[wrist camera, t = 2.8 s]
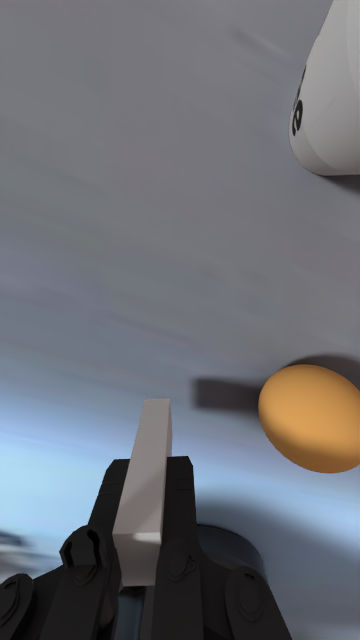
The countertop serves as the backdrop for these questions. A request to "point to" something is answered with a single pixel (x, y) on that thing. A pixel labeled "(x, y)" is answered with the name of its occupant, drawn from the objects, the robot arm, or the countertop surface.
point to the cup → (330, 97)
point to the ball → (312, 417)
